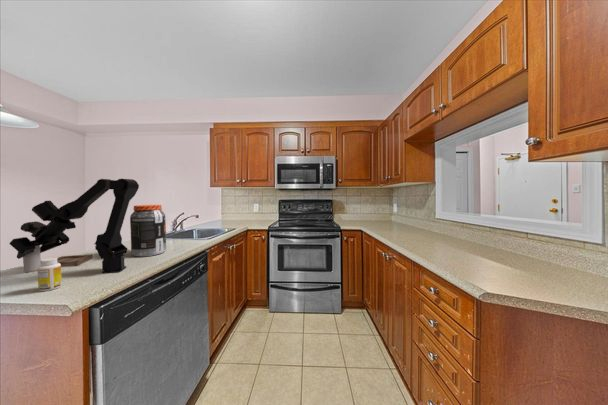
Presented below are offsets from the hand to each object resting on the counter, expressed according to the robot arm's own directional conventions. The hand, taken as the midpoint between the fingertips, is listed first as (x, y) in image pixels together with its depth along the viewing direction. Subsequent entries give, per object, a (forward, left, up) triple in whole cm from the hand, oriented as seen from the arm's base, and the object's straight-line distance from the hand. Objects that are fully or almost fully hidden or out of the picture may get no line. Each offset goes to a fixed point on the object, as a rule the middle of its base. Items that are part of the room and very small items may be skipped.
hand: (28, 255), depth 99 cm
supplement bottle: (-21, +24, -7) cm, 33 cm away
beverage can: (-1, 0, -7) cm, 7 cm away
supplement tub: (-38, -19, -7) cm, 43 cm away
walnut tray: (-9, -9, -7) cm, 14 cm away
